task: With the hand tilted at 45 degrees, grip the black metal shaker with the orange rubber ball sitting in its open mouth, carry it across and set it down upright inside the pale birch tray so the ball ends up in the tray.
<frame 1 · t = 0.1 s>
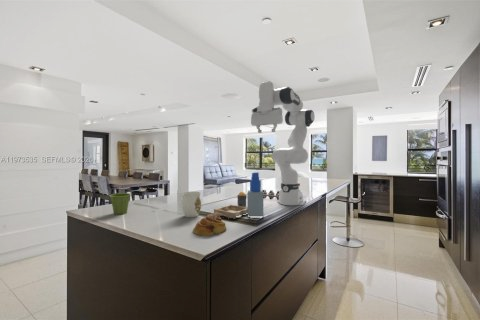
hand: (266, 132, 145), 48 cm above the countertop, tool pointing down, fingers open, 8 cm apart
black shaker: (241, 209, 155), on the countertop, touching orange ball
pastry: (210, 231, 113), on the countertop
pitcher: (192, 215, 140), on the countertop
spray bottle: (255, 217, 136), on the countertop
plant pot: (120, 213, 146), on the countertop
birch tray: (232, 214, 141), on the countertop
orange ball: (241, 194, 154), point 9 cm above the countertop, touching black shaker
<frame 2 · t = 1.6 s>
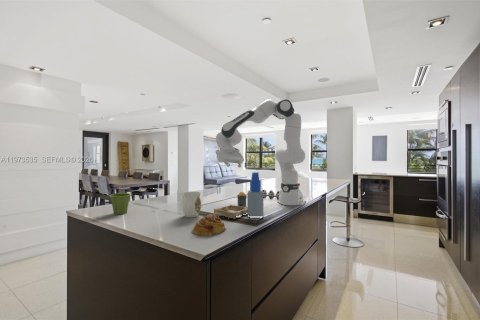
hand: (234, 166, 161), 27 cm above the countertop, tool tilted 45°, fingers open, 8 cm apart
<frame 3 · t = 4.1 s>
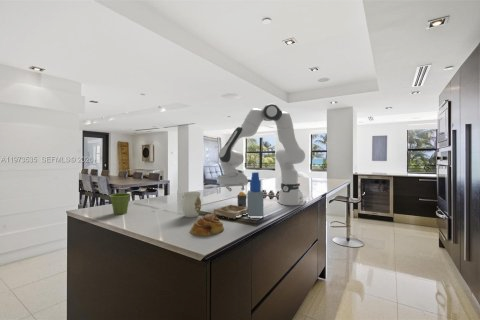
hand: (236, 190, 161), 11 cm above the countertop, tool tilted 45°, fingers open, 8 cm apart
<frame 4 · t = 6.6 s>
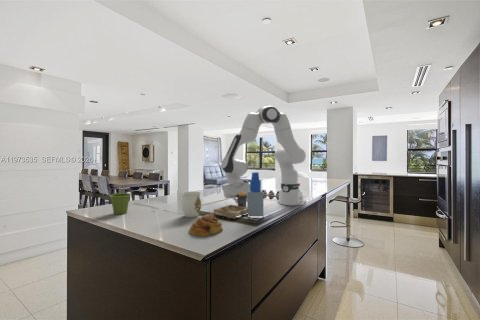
hand: (242, 201, 154), 5 cm above the countertop, tool tilted 45°, fingers closed on black shaker, 5 cm apart
black shaker: (241, 209, 155), on the countertop, touching gripper, orange ball
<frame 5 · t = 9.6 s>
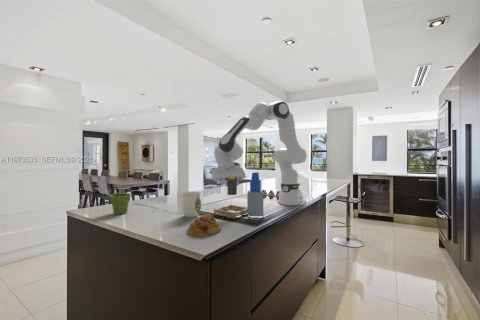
hand: (232, 185, 140), 17 cm above the countertop, tool tilted 45°, fingers closed on black shaker, 5 cm apart
black shaker: (232, 194, 141), point 12 cm above the countertop, touching gripper, orange ball
orange ball: (231, 178, 140), point 21 cm above the countertop, tilted 10°, touching black shaker
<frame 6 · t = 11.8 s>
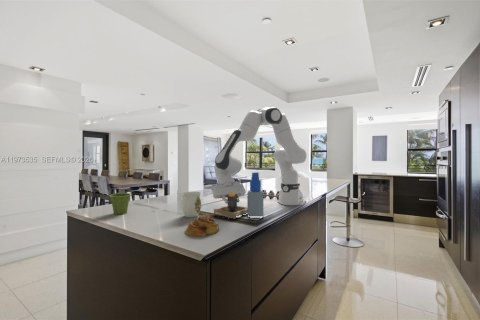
hand: (232, 202, 141), 7 cm above the countertop, tool tilted 45°, fingers closed on black shaker, 5 cm apart
black shaker: (232, 211, 141), point 2 cm above the countertop, touching gripper, orange ball
orange ball: (231, 195, 141), point 11 cm above the countertop, tilted 9°, touching black shaker
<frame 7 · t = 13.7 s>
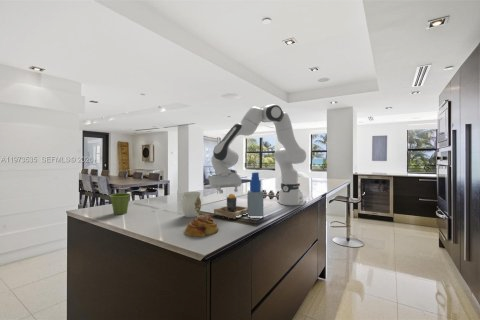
hand: (229, 192, 145), 12 cm above the countertop, tool tilted 45°, fingers open, 8 cm apart
black shaker: (231, 213, 141), point 1 cm above the countertop, touching birch tray, orange ball
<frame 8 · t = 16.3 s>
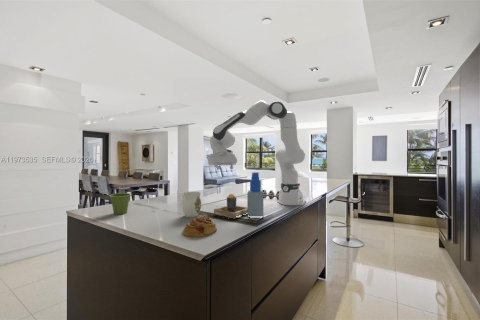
hand: (225, 168, 160), 25 cm above the countertop, tool tilted 45°, fingers open, 8 cm apart
at the end: black shaker inside the target area on the birch tray (0.4 cm from its centre), point 1.0 cm above the birch tray's base; black shaker tilted 0°; orange ball inside the target area on the birch tray (0.6 cm from its centre), point 10.2 cm above the birch tray's base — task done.
